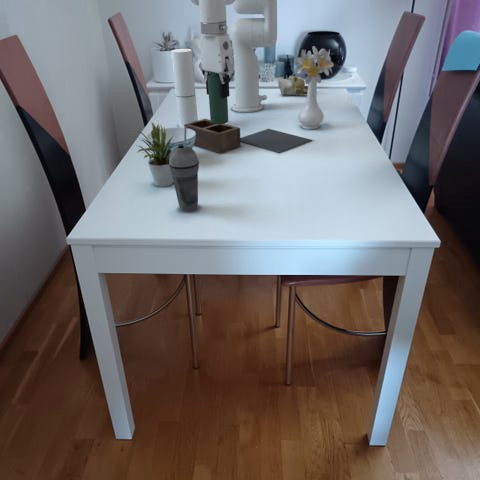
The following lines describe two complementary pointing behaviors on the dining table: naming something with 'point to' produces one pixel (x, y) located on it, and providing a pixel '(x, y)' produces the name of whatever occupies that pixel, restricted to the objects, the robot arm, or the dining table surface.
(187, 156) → the beverage cup
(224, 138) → the caddy
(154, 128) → the house plant
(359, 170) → the dining table surface
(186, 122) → the cylindrical container
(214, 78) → the bottle
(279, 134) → the mat
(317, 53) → the flower vase
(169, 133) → the chinaware
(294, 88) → the ceramic sculpture
